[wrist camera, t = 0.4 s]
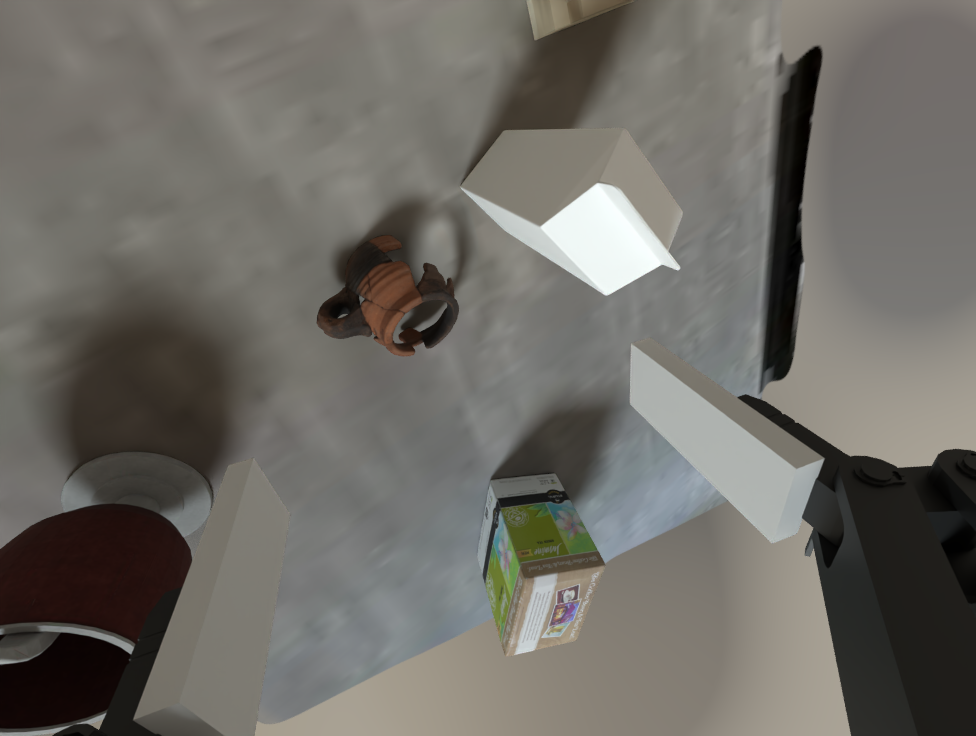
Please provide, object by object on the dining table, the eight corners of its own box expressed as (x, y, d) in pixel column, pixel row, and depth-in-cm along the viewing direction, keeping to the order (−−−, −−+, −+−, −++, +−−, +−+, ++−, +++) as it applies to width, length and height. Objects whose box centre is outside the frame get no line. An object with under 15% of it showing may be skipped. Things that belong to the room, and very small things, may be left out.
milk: (503, 129, 35) (669, 119, 17) (548, 180, 38) (731, 220, 20) (457, 188, 36) (566, 239, 18) (505, 233, 40) (639, 317, 21)
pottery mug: (417, 212, 37) (466, 267, 33) (428, 288, 45) (468, 339, 41) (284, 262, 33) (322, 330, 30) (321, 335, 41) (355, 396, 37)
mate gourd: (220, 544, 48) (148, 766, 31) (63, 548, 43) (-124, 816, 26) (223, 435, 42) (135, 640, 25) (40, 425, 36) (-227, 674, 20)
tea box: (486, 478, 55) (525, 580, 42) (555, 470, 57) (611, 563, 45) (474, 555, 61) (505, 662, 49) (537, 545, 64) (580, 643, 52)
